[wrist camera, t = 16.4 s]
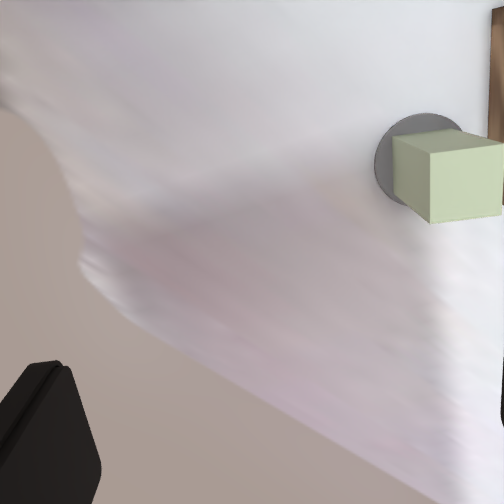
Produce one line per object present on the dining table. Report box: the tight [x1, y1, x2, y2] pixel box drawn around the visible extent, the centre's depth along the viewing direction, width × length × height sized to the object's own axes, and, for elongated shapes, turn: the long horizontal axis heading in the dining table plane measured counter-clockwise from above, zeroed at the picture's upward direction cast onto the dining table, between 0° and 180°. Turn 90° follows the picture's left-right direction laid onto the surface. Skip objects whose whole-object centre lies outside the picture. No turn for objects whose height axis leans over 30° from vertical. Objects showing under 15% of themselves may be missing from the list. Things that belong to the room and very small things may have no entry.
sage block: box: [392, 128, 504, 224], centre depth 37 cm, size 5×5×9 cm
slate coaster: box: [375, 113, 462, 206], centre depth 42 cm, size 8×8×1 cm
